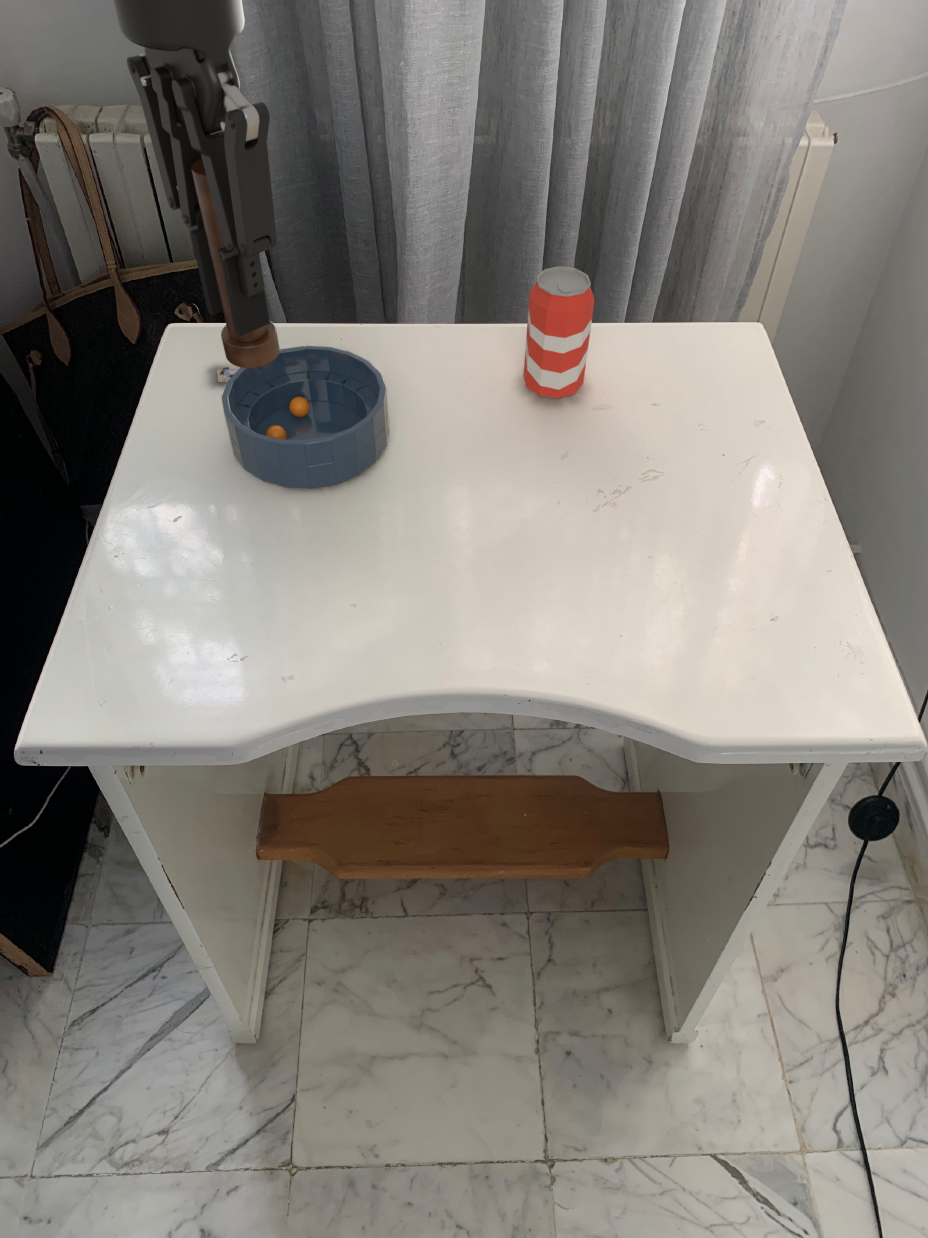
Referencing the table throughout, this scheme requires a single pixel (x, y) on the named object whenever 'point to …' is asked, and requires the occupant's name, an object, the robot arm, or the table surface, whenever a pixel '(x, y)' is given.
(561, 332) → the beverage can
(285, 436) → the bead
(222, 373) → the granola bar
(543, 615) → the table surface
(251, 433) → the bowl
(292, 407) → the bead
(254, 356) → the brown cylinder
